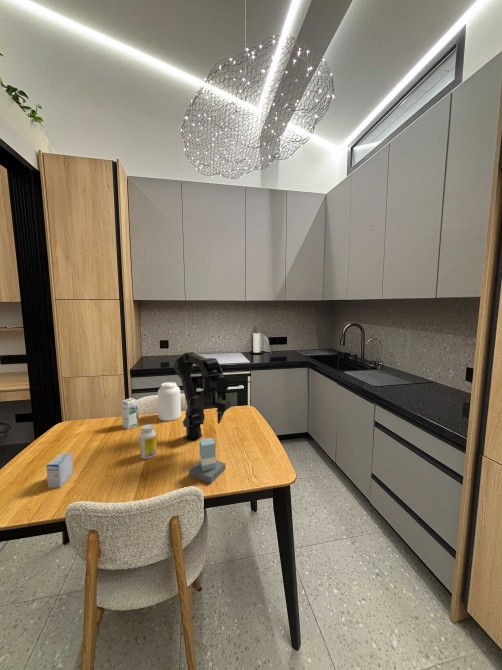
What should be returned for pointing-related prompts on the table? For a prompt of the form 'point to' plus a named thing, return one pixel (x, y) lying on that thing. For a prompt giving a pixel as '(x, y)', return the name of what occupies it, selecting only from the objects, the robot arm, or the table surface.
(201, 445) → the carton
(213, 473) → the podium
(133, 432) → the table surface
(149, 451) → the supplement bottle
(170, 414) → the white plastic jar
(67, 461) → the medicine box
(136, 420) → the syrup box
